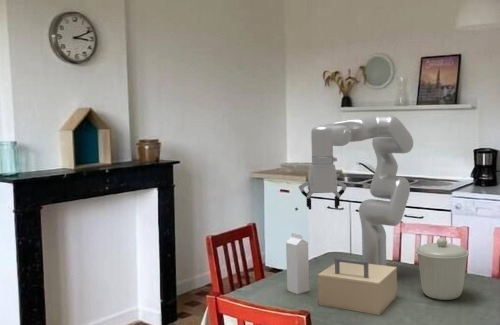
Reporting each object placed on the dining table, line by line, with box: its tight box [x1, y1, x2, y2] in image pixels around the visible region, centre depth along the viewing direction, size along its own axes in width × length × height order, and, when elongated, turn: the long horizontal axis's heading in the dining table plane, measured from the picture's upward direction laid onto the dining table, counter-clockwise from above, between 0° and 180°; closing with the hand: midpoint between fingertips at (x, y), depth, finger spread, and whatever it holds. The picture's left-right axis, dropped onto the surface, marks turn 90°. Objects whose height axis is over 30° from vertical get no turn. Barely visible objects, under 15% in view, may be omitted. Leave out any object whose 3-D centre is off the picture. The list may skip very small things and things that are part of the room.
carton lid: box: [317, 256, 398, 285], centre depth 195 cm, size 20×22×6 cm
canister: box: [415, 237, 470, 301], centre depth 198 cm, size 18×18×21 cm
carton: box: [317, 269, 398, 316], centre depth 196 cm, size 20×22×10 cm
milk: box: [285, 232, 310, 295], centre depth 208 cm, size 6×6×22 cm
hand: (323, 208), depth 198 cm, fingers open, 9 cm apart
